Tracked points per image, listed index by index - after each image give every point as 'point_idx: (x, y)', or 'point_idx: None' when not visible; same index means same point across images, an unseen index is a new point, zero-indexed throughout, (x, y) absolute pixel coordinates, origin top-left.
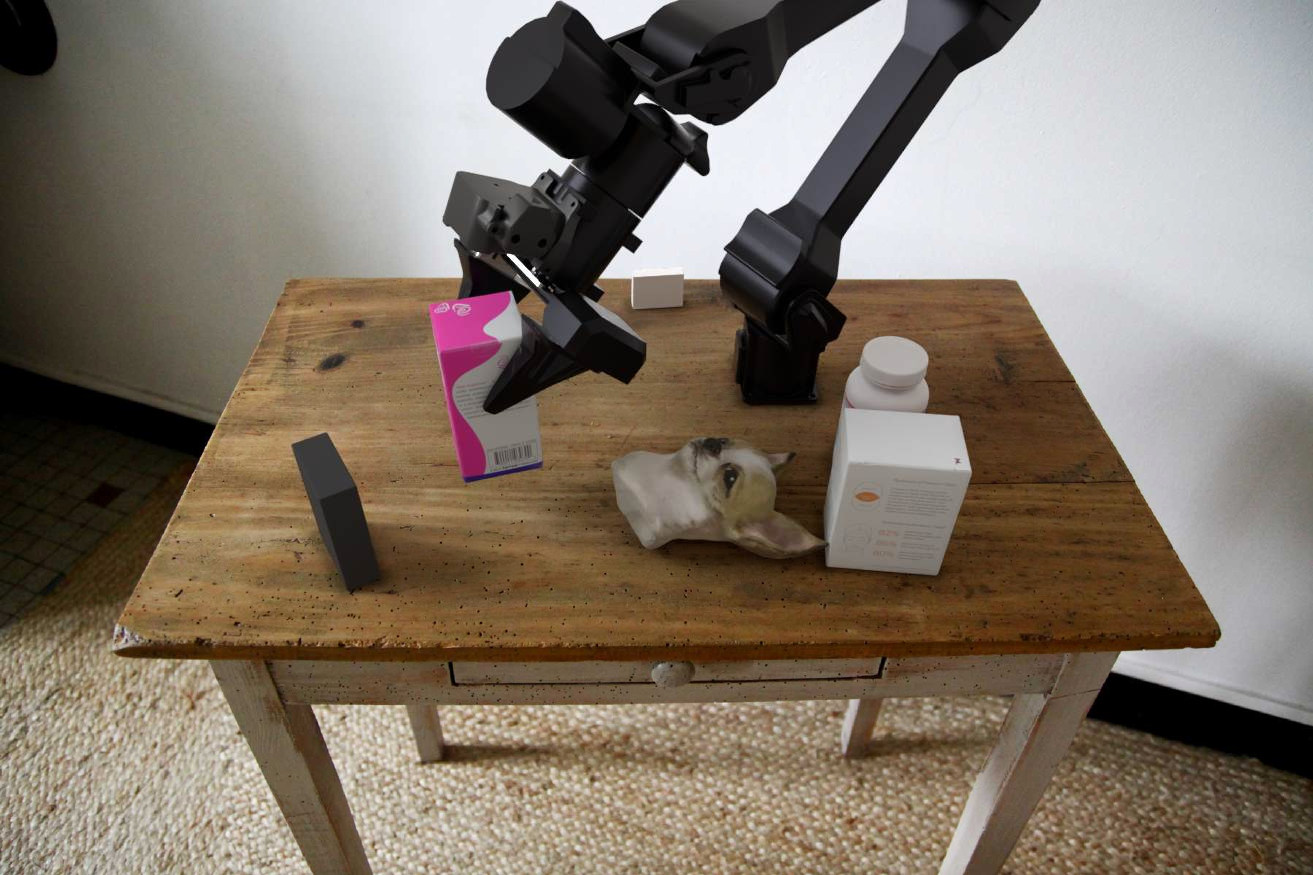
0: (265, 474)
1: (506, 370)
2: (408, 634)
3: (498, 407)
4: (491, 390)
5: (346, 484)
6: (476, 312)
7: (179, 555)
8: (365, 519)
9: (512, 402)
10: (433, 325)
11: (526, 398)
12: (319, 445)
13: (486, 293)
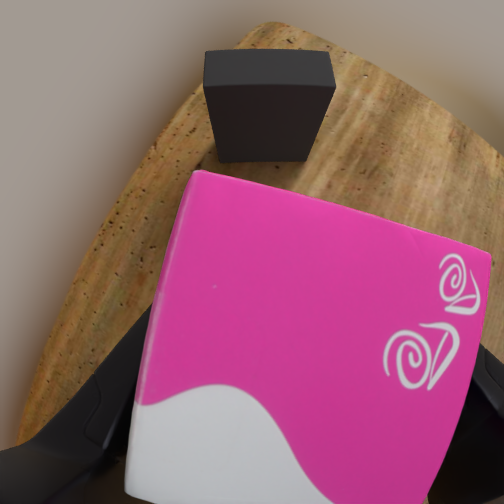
0: (401, 121)
1: (128, 373)
2: (145, 166)
3: None
4: None
5: (213, 78)
6: (372, 403)
7: (329, 49)
8: (211, 120)
9: None
10: (386, 219)
11: None
12: (309, 71)
13: (469, 442)
